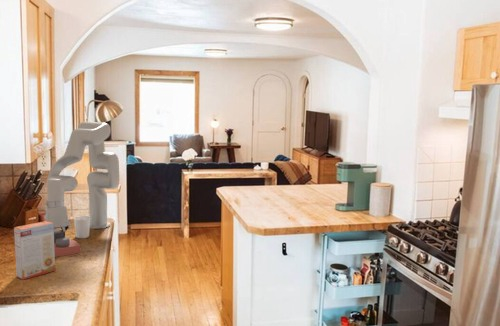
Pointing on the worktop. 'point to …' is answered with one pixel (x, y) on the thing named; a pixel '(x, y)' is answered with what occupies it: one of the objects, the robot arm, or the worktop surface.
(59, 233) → the gray rectangular box
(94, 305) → the worktop surface
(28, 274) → the cracker box
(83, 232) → the white cup
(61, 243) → the pink two-prong plug
